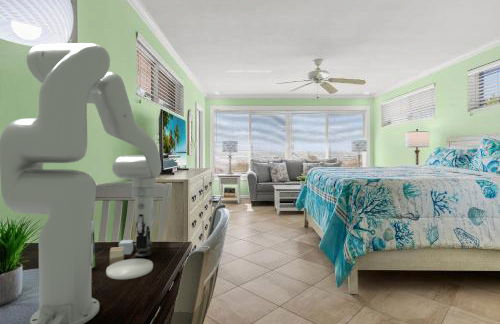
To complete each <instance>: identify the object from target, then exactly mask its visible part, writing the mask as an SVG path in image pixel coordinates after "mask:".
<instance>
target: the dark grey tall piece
mask: <svg viewBox="0 0 500 324" xmlns="http://www.w3.org/2000/svg"><path fill="white" fill-rule="evenodd" d="M142 226H145V225H142ZM143 230H144V229H143ZM148 233H149V231H148V226H147V228H146V236H147V247H146V248H136V242H134V243H133V246H134V248H135V250H136V251H137V252H135V253H134V255H135V256H136V257H145V256H150V255H151V254H152V251H150V249H151V248H152V244H153V241H151V240H150V241H149V239H148Z"/></svg>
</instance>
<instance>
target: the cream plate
mask: <svg viewBox="0 0 500 324" xmlns="http://www.w3.org/2000/svg"><path fill="white" fill-rule="evenodd" d="M153 269H154V263H153V261H152V260H150V259H146V258H129V259H124V260H122V261H119V262H116V263H112V264H109V266H107V267H106V270H105V273H106V277H108V278H110V279H114V280H131V279H136V278H137V279H138V278H140V277H143V276H145V275H148V274H149V273H151V272H152V270H153Z"/></svg>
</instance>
